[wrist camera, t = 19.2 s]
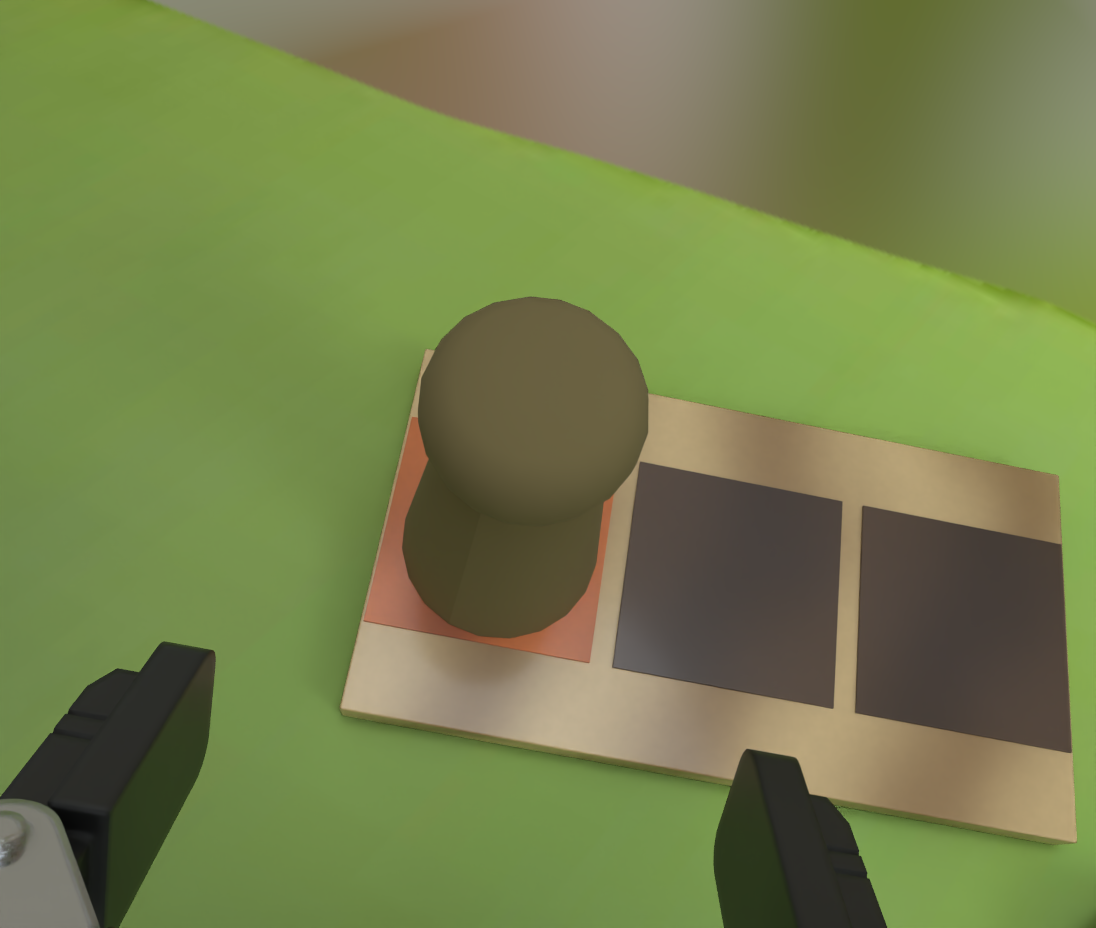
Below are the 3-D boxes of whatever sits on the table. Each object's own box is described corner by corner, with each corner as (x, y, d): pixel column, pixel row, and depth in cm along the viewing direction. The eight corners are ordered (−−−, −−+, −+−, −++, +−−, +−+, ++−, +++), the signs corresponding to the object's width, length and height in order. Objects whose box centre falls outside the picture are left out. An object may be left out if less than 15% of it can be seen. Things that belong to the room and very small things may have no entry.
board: (341, 715, 30) (338, 708, 29) (425, 365, 35) (425, 346, 34) (1054, 845, 31) (1079, 843, 30) (1039, 487, 36) (1060, 473, 35)
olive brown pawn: (509, 417, 33) (552, 207, 23) (637, 553, 32) (741, 393, 22) (360, 529, 31) (337, 353, 21) (491, 680, 30) (531, 569, 20)
